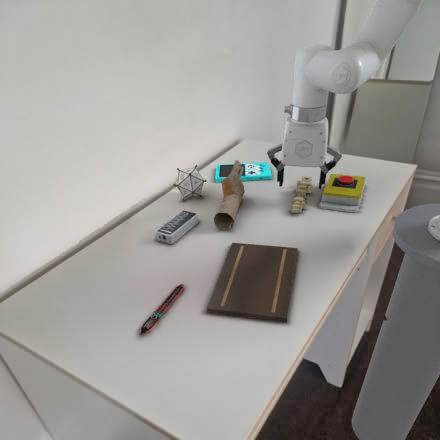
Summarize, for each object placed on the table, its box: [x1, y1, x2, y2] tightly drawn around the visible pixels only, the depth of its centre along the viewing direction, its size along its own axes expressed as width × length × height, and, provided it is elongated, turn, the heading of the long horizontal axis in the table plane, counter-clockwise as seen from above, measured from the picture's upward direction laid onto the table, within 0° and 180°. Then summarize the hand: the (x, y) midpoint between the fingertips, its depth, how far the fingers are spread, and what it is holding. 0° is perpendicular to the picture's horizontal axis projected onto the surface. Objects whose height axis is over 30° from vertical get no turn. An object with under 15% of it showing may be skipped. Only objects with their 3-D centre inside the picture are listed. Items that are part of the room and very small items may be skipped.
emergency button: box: [319, 173, 366, 214], centre depth 93 cm, size 9×4×15 cm
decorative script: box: [291, 176, 313, 214], centre depth 94 cm, size 17×4×3 cm, turn 165°
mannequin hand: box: [213, 159, 246, 231], centre depth 93 cm, size 7×7×25 cm
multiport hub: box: [155, 209, 199, 245], centre depth 86 cm, size 4×11×2 cm, turn 148°
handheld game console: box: [214, 161, 272, 183], centre depth 108 cm, size 10×16×1 cm, turn 89°
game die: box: [172, 164, 208, 202], centre depth 97 cm, size 9×8×10 cm
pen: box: [140, 283, 185, 335], centre depth 67 cm, size 2×14×1 cm, turn 154°
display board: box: [206, 242, 299, 323], centre depth 71 cm, size 14×21×1 cm, turn 166°
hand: (300, 185), depth 93 cm, fingers open, 9 cm apart
